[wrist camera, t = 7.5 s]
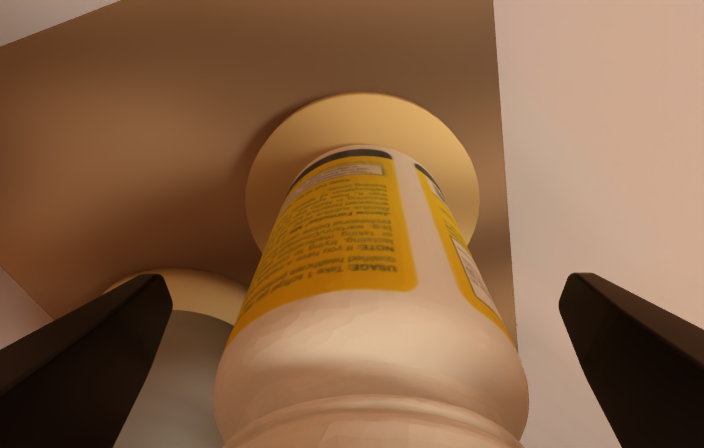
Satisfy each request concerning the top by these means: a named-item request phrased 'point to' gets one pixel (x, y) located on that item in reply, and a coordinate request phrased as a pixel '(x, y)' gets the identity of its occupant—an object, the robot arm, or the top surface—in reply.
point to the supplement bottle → (368, 322)
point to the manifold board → (229, 155)
